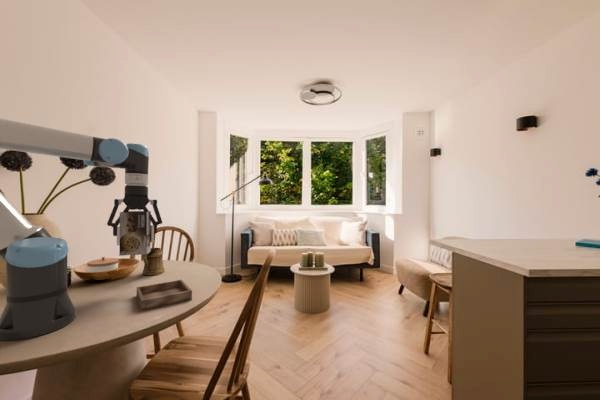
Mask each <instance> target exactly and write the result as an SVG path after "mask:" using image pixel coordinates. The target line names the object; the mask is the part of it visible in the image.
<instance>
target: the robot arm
mask: <svg viewBox="0 0 600 400" xmlns="http://www.w3.org/2000/svg"><path fill="white" fill-rule="evenodd" d="M0 149H1V150H8V151H14V152H15V151H16V152H21V153H22V152H23V153H30V154H37V155H44V156H51V157H58V158H65V159H66V158H67V159H74V160H81V161H83V164H84V165H86V166H87V167H88V166H89V167H90V166H91V167H96V168H98V167H99V168H115V169H122V170H123V169H124V184H125V186H124V196H123V199H122V198H121V199H119V198H118V199H117V198H115V199H114V202H113V203H114V205H113V208H112V210H111V213H110V215H109V218H108V220H107V223H106V225H107V226H108V227H112V229H113V230H112V235H113V237H116V246H120V215H119V216H118V217H117V219H116V220H115V221H114V219H115V216H116V215H117V211H118V208H119V206H120V205H122V203H123V204H125V208H124V209H123V211H122V212H128V211H136V210H137V211H149V209H148V208H147V206H148V204H149V203H150V205H152V208H153V211H154V214H155V217H156V220H155V218H154V217H153V215H152V213H151V214H150V212H149V219H150V221H151V224H152V225H151V244H154V243H155V240H154V238H155V237H154V236H155V235H156V234H158V225H162V224H163V220H162V217H161V213H160V211H159V209H158V199H150V198H149V187H148V186H147V185H149V159H150V155H149V154H150V153H149V148H148V146H147V145H145V144H141V143H131V142H129V143H125V142H124V141H122V140H121V139H118V138H113V137H111V138H102V137H96V136H92V135H86V134H81V133H76V132H72V131H65V130H60V129H55V128H50V127H46V126H39V125H35V124H30V123H25V122H19V121H15V120H9V119H3V118H0ZM113 221H114V222H113ZM68 253H69V246H68V242H67V241H66V240H65V239H63V238H61V237H53V236H52V235H51V234H50V233H49V232H48V231H47V229H45V228H44V226H42V225H34V224H33V223H31V222H30V221H29V220H28V219H27V217H25V215H23V214H22V213H21V212H20V210H18V208H16V206H14V204H13V203H12V202H11V201H10V200H9V199H8V198H7V197H6V196H5V195H4V194H3V193H2V192H1V191H0V258H1V260H2V261H4V262H5V264H6V265H5V266H6V268H5V269H6V272H5V275H6V283H5V284H6V290H5V291H6V294H5V295H6V300H5V306H4V308H3V311H2V313H1V315H0V341H18V340H25V339H30V338H34V337H38V336H39V337H40V336H43V335H46V334H49V333H52V332H55V331H58V330H60V329H62V328H64V327H66V326H67V325H70V324H71V323H72V322H73V321H75V319H76V308H75V306H74V304H73V301H72V300H71V297H70V295H69V292H68Z"/></svg>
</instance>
